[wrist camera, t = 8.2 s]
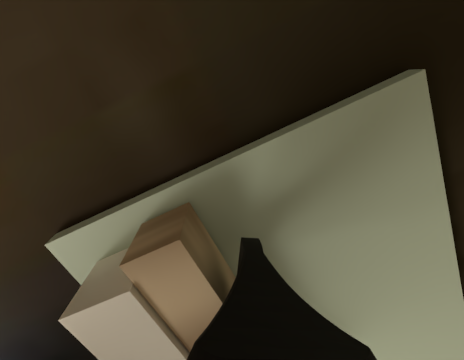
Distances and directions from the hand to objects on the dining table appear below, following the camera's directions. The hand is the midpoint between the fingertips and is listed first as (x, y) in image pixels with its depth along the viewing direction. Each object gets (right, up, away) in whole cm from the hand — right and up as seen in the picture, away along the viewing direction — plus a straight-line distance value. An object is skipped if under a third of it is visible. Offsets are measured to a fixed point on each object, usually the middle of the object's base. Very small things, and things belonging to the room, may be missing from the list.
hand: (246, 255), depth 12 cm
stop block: (-5, -3, +2) cm, 6 cm away
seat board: (+4, -5, +5) cm, 8 cm away
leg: (-1, -4, +3) cm, 5 cm away
